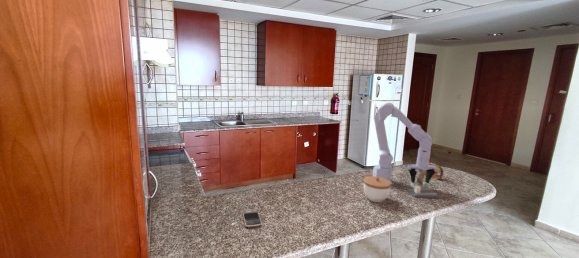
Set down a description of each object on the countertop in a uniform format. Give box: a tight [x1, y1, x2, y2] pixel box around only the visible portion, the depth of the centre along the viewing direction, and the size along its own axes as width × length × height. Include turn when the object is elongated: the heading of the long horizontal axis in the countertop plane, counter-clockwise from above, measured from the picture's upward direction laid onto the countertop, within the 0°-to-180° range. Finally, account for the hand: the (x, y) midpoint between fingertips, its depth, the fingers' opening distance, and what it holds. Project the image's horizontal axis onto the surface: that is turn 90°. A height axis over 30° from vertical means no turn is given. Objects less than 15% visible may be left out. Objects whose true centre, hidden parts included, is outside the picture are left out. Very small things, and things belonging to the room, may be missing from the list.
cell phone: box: [242, 210, 262, 228], centre depth 107 cm, size 6×11×1 cm, turn 17°
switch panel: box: [407, 188, 439, 199], centre depth 136 cm, size 12×7×2 cm, turn 91°
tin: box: [419, 161, 444, 180], centre depth 162 cm, size 15×3×8 cm, turn 25°
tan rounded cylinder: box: [416, 172, 425, 185], centre depth 143 cm, size 3×3×8 cm
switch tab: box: [413, 186, 421, 193], centre depth 135 cm, size 2×3×3 cm, turn 1°
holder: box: [410, 180, 429, 189], centre depth 144 cm, size 6×6×3 cm
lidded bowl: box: [363, 175, 392, 203], centre depth 129 cm, size 13×13×11 cm
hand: (419, 182), depth 143 cm, fingers open, 7 cm apart
